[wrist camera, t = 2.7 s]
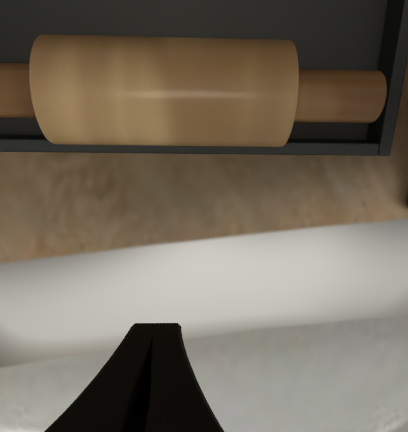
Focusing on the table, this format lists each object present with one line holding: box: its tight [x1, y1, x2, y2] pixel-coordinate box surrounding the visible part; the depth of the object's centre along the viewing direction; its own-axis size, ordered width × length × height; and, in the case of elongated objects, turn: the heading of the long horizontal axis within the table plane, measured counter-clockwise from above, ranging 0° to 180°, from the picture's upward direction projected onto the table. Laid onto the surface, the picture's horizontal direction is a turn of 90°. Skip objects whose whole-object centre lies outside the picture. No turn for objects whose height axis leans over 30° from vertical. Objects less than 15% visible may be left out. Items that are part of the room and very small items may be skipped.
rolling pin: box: [0, 34, 387, 147], centre depth 16 cm, size 18×4×4 cm, turn 89°
